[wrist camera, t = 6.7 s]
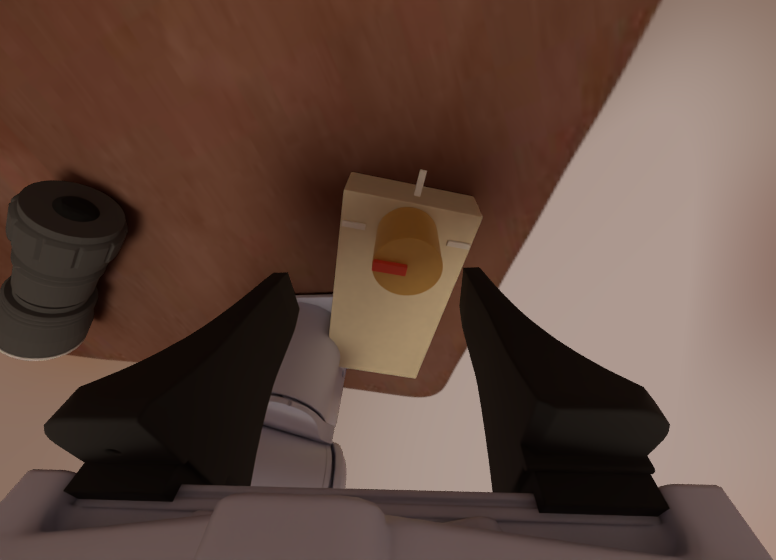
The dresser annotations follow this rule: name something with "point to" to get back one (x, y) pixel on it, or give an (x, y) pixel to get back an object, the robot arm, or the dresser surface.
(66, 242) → the flashlight
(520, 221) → the dresser surface
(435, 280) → the lock knob
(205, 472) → the robot arm
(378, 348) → the dial box
